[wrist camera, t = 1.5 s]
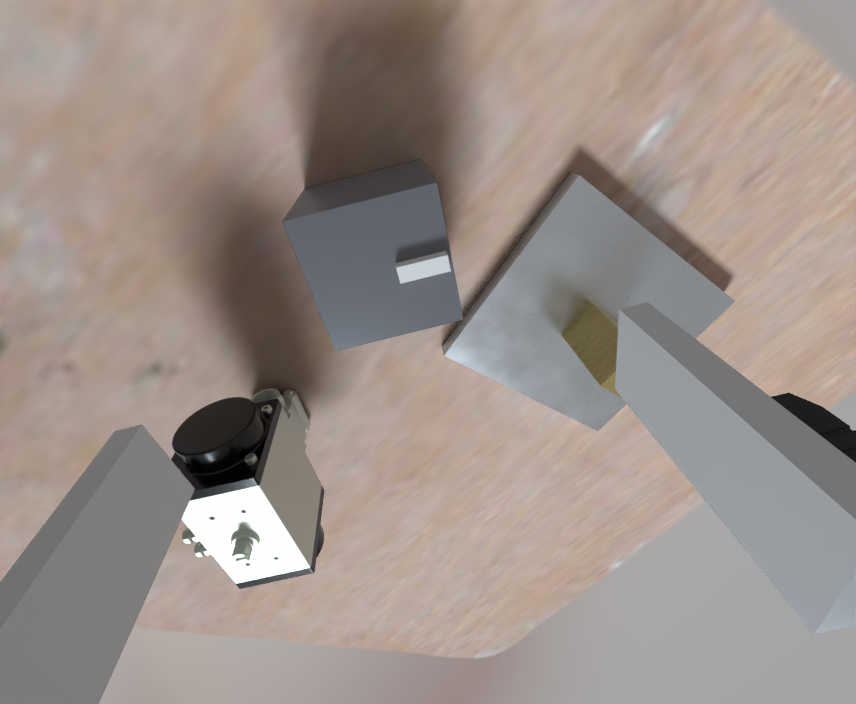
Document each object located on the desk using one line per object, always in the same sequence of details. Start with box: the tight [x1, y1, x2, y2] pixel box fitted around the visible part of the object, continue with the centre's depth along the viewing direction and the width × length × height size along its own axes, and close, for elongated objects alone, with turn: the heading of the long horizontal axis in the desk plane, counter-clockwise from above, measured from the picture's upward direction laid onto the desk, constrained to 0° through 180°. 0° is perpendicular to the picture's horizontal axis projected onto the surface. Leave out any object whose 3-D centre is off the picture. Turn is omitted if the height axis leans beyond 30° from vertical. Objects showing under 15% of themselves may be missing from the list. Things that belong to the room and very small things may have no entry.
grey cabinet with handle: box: [282, 159, 463, 351], centre depth 22 cm, size 7×7×8 cm
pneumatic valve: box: [171, 388, 324, 589], centre depth 27 cm, size 6×12×12 cm, turn 10°
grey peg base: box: [442, 172, 735, 431], centre depth 27 cm, size 16×14×7 cm
